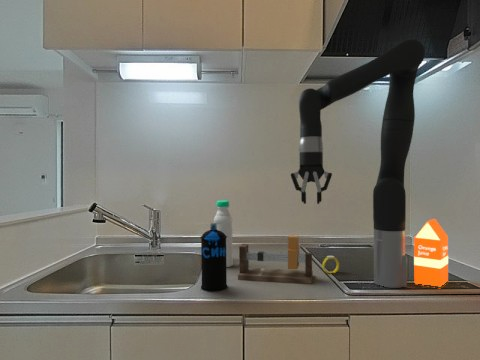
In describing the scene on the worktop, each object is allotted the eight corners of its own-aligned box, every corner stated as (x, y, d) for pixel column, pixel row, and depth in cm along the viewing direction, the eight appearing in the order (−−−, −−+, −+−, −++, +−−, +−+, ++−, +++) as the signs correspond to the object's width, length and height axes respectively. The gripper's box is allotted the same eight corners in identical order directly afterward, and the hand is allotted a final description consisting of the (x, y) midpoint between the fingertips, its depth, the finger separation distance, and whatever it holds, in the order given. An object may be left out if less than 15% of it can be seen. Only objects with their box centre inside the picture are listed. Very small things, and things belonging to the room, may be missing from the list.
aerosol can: (201, 283, 120) (200, 221, 119) (227, 283, 120) (226, 221, 120) (200, 291, 111) (199, 225, 111) (227, 291, 112) (227, 224, 112)
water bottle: (212, 264, 145) (211, 200, 145) (229, 262, 148) (228, 199, 147) (217, 268, 139) (216, 201, 138) (235, 267, 141) (234, 200, 141)
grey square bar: (306, 261, 125) (305, 253, 125) (305, 263, 122) (305, 254, 122) (247, 258, 130) (247, 250, 130) (246, 260, 127) (245, 252, 127)
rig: (312, 275, 128) (312, 245, 128) (311, 283, 118) (310, 250, 118) (244, 271, 134) (244, 242, 134) (237, 279, 124) (237, 248, 124)
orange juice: (413, 283, 118) (413, 220, 117) (422, 277, 124) (422, 217, 124) (441, 288, 112) (440, 222, 112) (448, 282, 119) (448, 219, 119)
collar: (298, 264, 127) (298, 235, 127) (297, 269, 121) (297, 238, 121) (290, 264, 128) (289, 234, 128) (288, 268, 122) (287, 237, 122)
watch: (325, 275, 129) (324, 258, 129) (321, 273, 132) (320, 256, 132) (340, 272, 131) (339, 256, 131) (336, 270, 134) (335, 254, 134)
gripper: (333, 151, 125) (333, 203, 125) (290, 152, 128) (291, 202, 128) (333, 150, 117) (333, 204, 118) (288, 151, 121) (288, 204, 121)
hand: (311, 203), depth 123 cm, fingers open, 3 cm apart
